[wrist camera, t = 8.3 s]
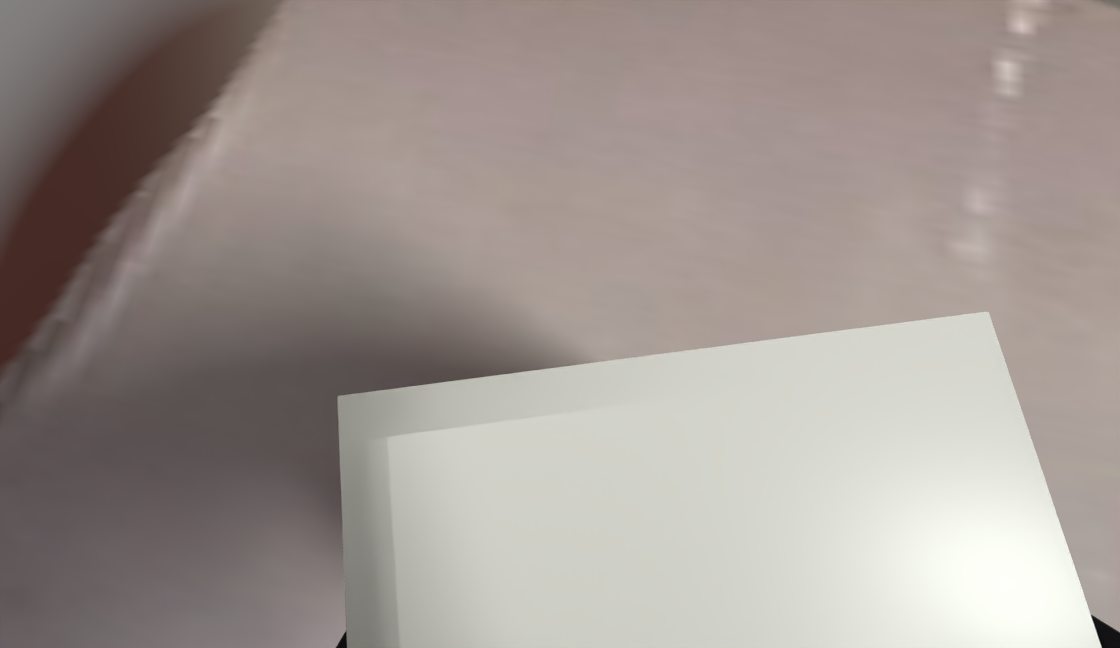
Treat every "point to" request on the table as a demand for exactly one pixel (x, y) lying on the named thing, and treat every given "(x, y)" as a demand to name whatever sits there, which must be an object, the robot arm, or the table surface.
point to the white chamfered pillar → (712, 502)
